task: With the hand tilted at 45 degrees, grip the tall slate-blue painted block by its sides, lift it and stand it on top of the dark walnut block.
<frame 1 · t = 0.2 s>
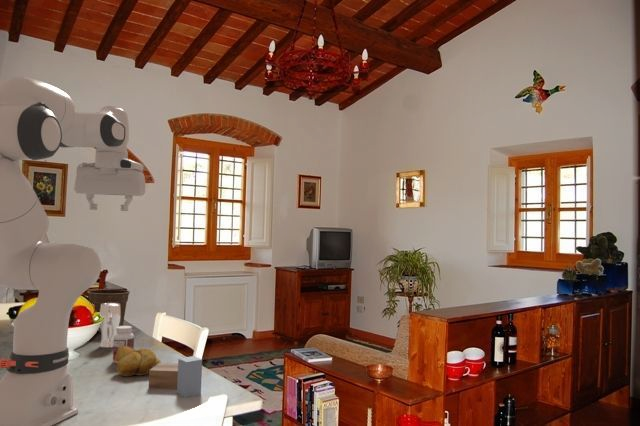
hand: (108, 210, 152), 48 cm above the table, tool pointing down, fingers open, 8 cm apart
plant pot: (107, 330, 213), on the table
beer glass: (108, 346, 186), on the table
walnut block: (168, 385, 144), on the table
pill bottle: (123, 362, 166), on the table
bread roll: (138, 374, 153), on the table
slate block: (188, 393, 136), on the table
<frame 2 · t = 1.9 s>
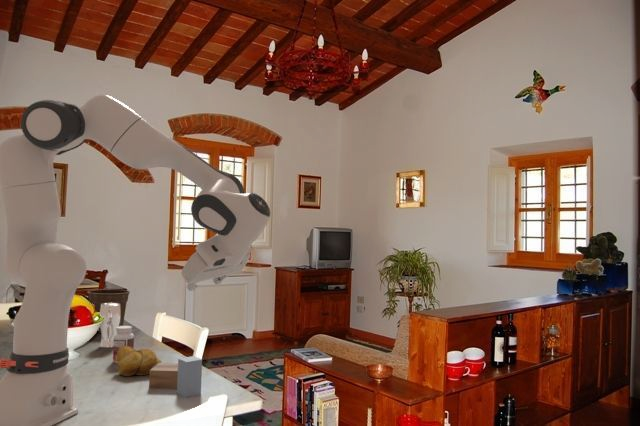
hand: (203, 285, 137), 28 cm above the table, tool tilted 45°, fingers open, 8 cm apart
nothing on the table moved.
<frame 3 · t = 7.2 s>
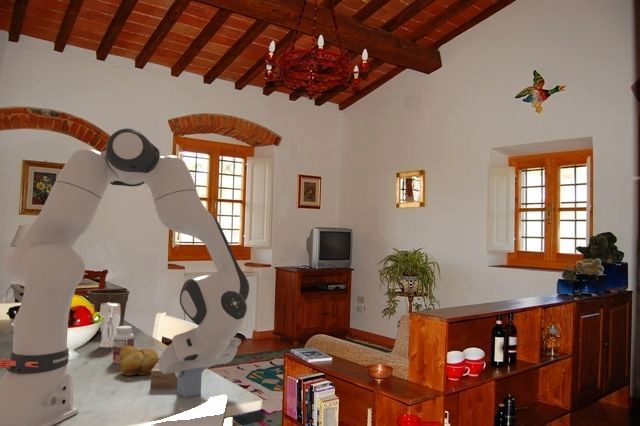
hand: (188, 372, 137), 5 cm above the table, tool tilted 45°, fingers closed on slate block, 4 cm apart
slate block: (188, 393, 136), on the table, touching gripper
when the fingers open (11 cm above the table, at t = 12.1 s): slate block drops 1 cm, resting on walnut block.
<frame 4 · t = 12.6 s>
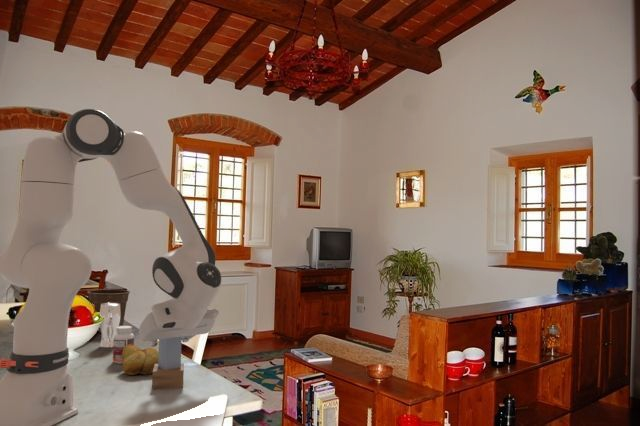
hand: (168, 342, 144), 11 cm above the table, tool tilted 45°, fingers open, 8 cm apart
walnut block: (168, 385, 144), on the table, touching slate block
slate block: (169, 367, 144), point 5 cm above the table, touching walnut block
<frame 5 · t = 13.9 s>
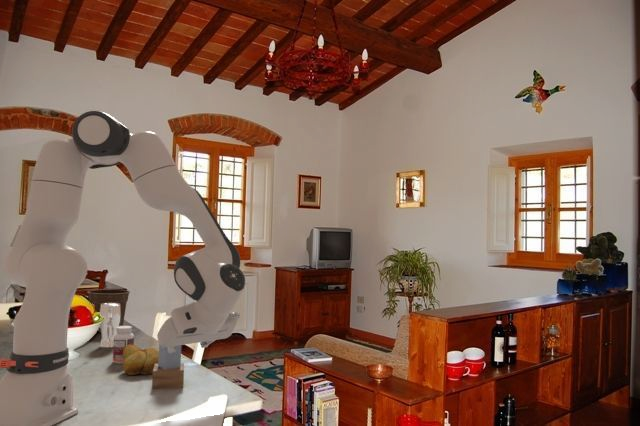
hand: (187, 348, 137), 12 cm above the table, tool tilted 45°, fingers open, 8 cm apart
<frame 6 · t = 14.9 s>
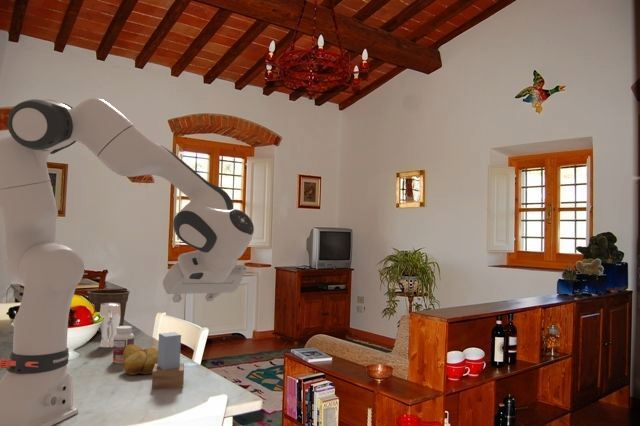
hand: (192, 299, 135), 25 cm above the table, tool tilted 45°, fingers open, 8 cm apart
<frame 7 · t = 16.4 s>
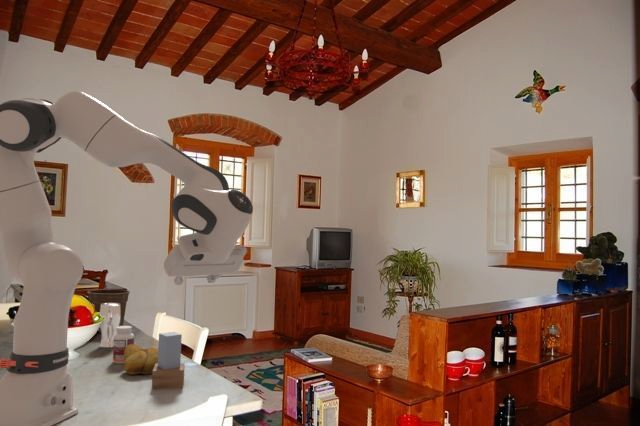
hand: (194, 282, 135), 29 cm above the table, tool tilted 45°, fingers open, 8 cm apart
walnut block: (168, 384, 144), on the table
slate block: (168, 366, 144), point 5 cm above the table
at the end: slate block 0.2 cm off-centre on the walnut block, point 5.0 cm above the walnut block's base; slate block tilted 1°; the gripper is holding nothing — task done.
